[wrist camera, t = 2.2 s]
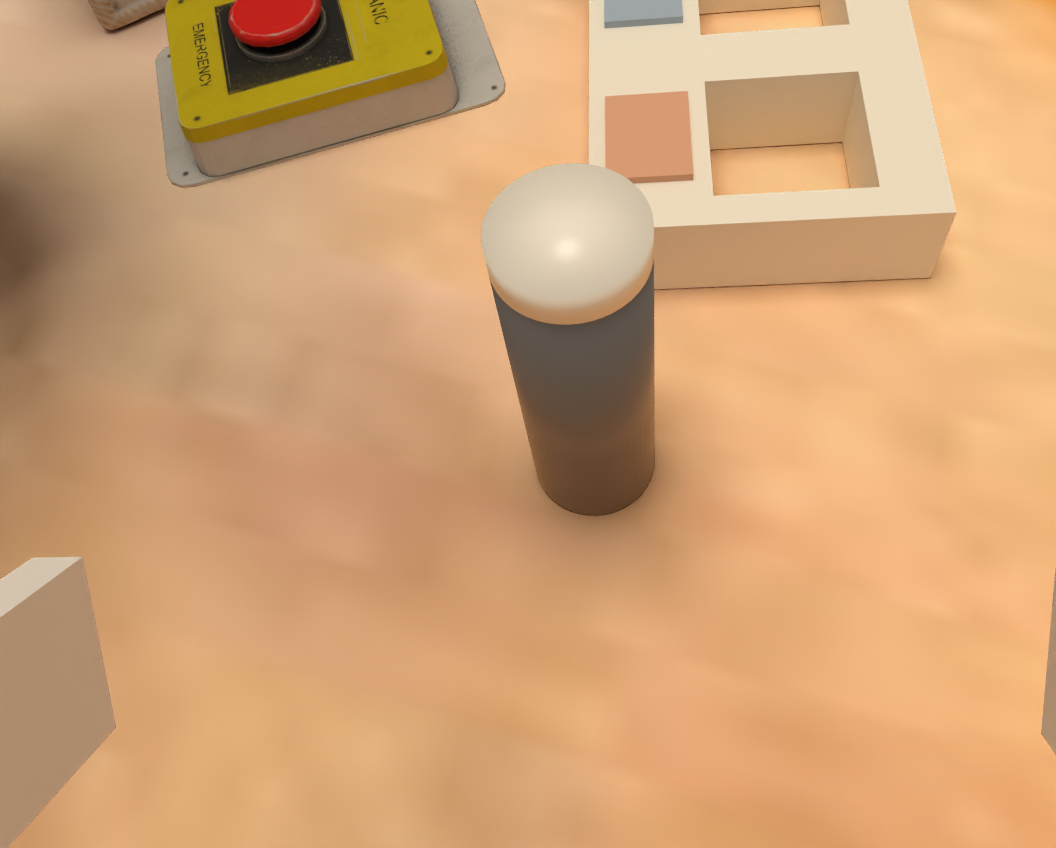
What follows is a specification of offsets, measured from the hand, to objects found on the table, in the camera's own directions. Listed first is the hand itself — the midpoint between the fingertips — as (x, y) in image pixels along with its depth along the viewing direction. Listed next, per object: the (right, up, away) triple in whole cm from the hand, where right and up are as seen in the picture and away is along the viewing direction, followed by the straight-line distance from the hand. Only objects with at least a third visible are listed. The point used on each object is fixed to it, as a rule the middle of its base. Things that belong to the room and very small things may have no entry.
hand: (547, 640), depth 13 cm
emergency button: (-9, +18, +31) cm, 37 cm away
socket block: (+8, +15, +26) cm, 31 cm away
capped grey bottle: (+2, +2, +20) cm, 20 cm away
